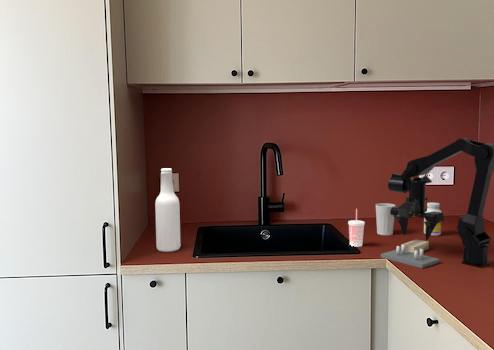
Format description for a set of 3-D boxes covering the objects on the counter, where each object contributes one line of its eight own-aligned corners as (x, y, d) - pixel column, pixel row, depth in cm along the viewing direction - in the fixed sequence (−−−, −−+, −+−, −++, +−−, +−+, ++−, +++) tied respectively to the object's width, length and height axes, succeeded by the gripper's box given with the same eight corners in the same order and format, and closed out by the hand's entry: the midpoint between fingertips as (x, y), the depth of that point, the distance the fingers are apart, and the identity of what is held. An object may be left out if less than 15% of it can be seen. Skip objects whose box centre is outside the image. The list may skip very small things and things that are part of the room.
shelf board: (428, 249, 179) (428, 241, 179) (413, 255, 171) (414, 247, 171) (415, 247, 182) (416, 239, 182) (400, 252, 175) (401, 244, 175)
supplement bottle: (442, 236, 197) (443, 205, 196) (425, 235, 198) (426, 204, 197) (439, 232, 204) (440, 202, 202) (422, 231, 205) (423, 201, 203)
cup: (371, 232, 205) (371, 204, 204) (386, 230, 208) (387, 202, 207) (382, 236, 198) (383, 207, 196) (398, 234, 201) (399, 205, 199)
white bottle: (154, 252, 177) (151, 170, 174) (159, 245, 186) (156, 167, 182) (178, 252, 177) (176, 169, 174) (182, 245, 186) (180, 167, 182)
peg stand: (439, 262, 162) (439, 250, 161) (421, 268, 156) (422, 255, 155) (398, 252, 174) (398, 240, 174) (380, 257, 168) (381, 245, 168)
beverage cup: (367, 245, 184) (368, 209, 182) (355, 248, 180) (356, 210, 179) (356, 242, 189) (356, 206, 187) (344, 244, 186) (344, 208, 184)
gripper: (381, 193, 177) (380, 235, 179) (427, 200, 162) (425, 246, 164) (399, 190, 184) (398, 231, 185) (445, 196, 169) (444, 240, 171)
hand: (415, 237), depth 176 cm, fingers open, 9 cm apart
